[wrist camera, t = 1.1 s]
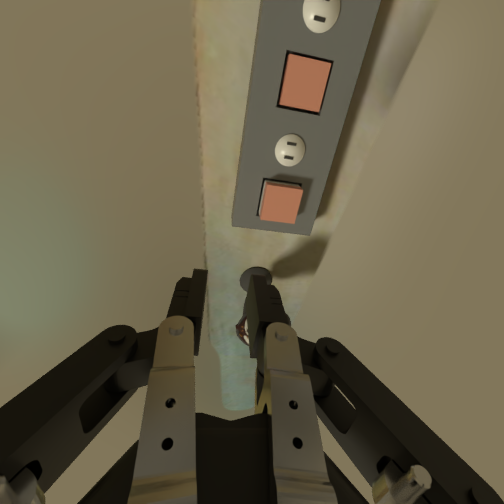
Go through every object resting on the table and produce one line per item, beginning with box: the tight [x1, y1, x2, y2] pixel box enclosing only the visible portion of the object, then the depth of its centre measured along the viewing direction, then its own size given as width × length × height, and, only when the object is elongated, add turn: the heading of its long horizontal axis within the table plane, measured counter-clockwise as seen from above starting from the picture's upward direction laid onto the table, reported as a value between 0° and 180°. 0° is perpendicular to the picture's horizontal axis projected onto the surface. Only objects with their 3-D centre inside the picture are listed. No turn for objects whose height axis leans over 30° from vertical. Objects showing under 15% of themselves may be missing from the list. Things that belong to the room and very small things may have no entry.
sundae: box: [236, 267, 291, 346], centre depth 33 cm, size 7×7×15 cm
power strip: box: [232, 0, 381, 236], centre depth 28 cm, size 24×10×4 cm, turn 170°
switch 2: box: [277, 54, 331, 112], centre depth 25 cm, size 4×4×2 cm
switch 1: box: [258, 179, 303, 224], centre depth 29 cm, size 4×4×2 cm
